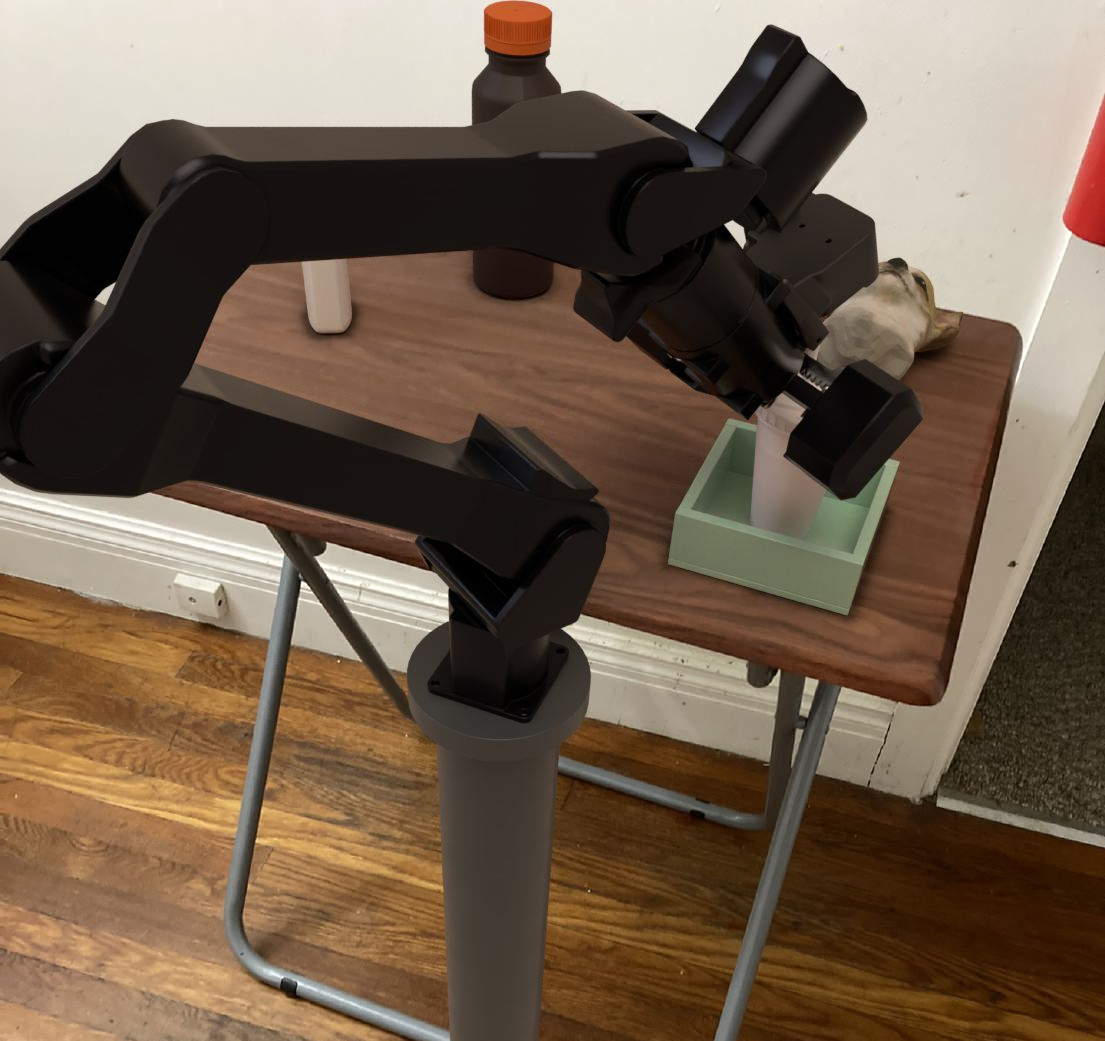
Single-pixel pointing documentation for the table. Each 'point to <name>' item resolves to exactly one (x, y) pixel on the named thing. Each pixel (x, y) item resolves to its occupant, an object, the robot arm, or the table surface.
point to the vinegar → (509, 78)
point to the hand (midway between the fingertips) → (817, 431)
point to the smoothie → (782, 473)
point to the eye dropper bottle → (328, 295)
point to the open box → (767, 557)
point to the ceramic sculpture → (888, 322)
